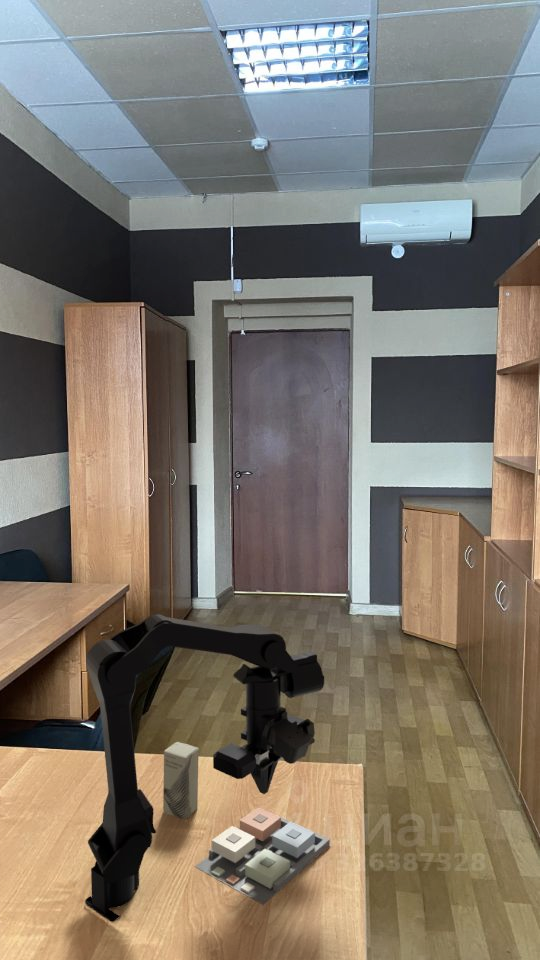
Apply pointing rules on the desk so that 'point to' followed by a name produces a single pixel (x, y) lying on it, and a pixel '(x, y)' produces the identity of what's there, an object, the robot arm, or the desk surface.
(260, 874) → the key sage
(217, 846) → the key ivory
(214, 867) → the grey compartment tray
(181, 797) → the box
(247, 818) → the key terracotta
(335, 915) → the desk surface
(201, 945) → the desk surface
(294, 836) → the key slate
